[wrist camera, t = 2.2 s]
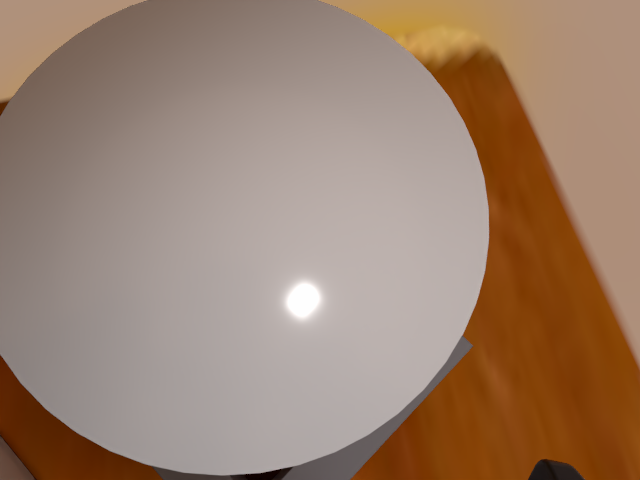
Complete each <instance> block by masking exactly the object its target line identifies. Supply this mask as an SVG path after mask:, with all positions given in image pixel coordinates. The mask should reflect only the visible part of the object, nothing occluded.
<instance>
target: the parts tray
mask: <svg viewBox="0 0 640 480" xmlns="http://www.w3.org/2000/svg"><path fill="white" fill-rule="evenodd" d="M0 480H36V479H35V478H34V477H33V476H32V474H31V473H30V472H29V471H28V469H27V468H26V467H25V466H24V464H23V463H22V462H21V461H20V460H19V458H18V457H17V456H16V455H15V453H14V452H13V451H12V450H11V448H10V447H9V446H8V445H7V443H6V442H5V441H4V440H3V438H2V437H1V436H0Z"/></svg>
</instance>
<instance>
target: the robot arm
mask: <svg viewBox="0 0 640 480" xmlns="http://www.w3.org/2000/svg"><path fill="white" fill-rule="evenodd" d="M528 480H585V479H584V478H583V477H582V476H581V475H580V474H579V472H578V471H577V470H576V469H575V468H574V467H573V466H571V465H569V464H567V463H563V462H558V461H552V460H547V459H542V460H540V461H539V462H538V463H537V464H536V465H535V467H534V469H533V471H532V473H531V475H530V477H529V479H528Z"/></svg>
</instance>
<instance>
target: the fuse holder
mask: <svg viewBox="0 0 640 480" xmlns="http://www.w3.org/2000/svg"><path fill="white" fill-rule="evenodd" d="M472 347H473V346H472V345H471V344H470V343H469V342H468V341H467V340H466V339H465V338H464V337H463V336H461V338H460V340H459V341H458V343H457V345H456V346H455V348H454V350H453V351H452V353H451V355H450V356H449V358H448V360H447V361H446V363H445V364H444V365H443V366H442V368H441V369H440V370H439V371H438V373H437V374H436V375H435V376H434V378H433V379H432V380H431V381H430V383H429V384H428V385H427V386H426V388H425V389H424V390H423V391H422V392H421V393H420V394H419V395H417V396H416V397H415V398H414V399H413V400H412V401H411V402H410V403H409V404H408V405H407V406H406V407H405V408H404V409H403V410H402V411H400V412H399V413H398V414H397V415H396V416H394V417H393V418H391V419H390V420H389V421H387V422H386V423H384V424H383V425H382V426H380V427H379V428H377V429H376V430H374V431H373V432H372V433H370V434H369V435H367V436H365V437H363V438H361V439H359V440H358V441H356V442H354V443H352V444H350V445H348V446H346V447H344V448H342V449H340V450H338V451H336V452H334V453H332V454H329V455H326V456H323V457H320V458H317V459H315V460H312V461H309V462H306V463H303V464H301V465H297V466H292V467H287V468H283V469H282V470H281V471H280V472H279V473H278V474H277V475H276V476H275V477H274V478H273V479H272V480H350V479H351V478H352V477H353V476H354V475H355V473H356V472H357V471H358V470H359V469H360V468H361V467H362V466H363V465H364V464H365V463H366V462H367V460H368V459H369V458H370V457H371V456H372V455H373V454H374V453H375V452H376V451H377V450H378V449H379V447H380V446H381V445H382V444H383V443H384V442H385V441H386V440H387V439H388V438H389V437H390V436H391V434H392V433H393V432H394V431H395V430H396V429H397V428H398V427H399V426H400V425H401V424H402V423H403V421H404V420H405V419H406V418H407V417H408V416H409V415H410V414H411V413H412V412H413V411H414V410H415V408H416V407H417V406H418V405H419V404H420V403H421V402H422V401H423V400H424V399H425V398H426V397H427V395H428V394H429V393H430V392H431V391H432V390H433V389H434V388H435V387H436V386H437V385H438V383H439V382H440V381H441V380H442V379H443V378H444V377H445V376H446V375H447V374H448V373H449V372H450V370H451V369H452V368H453V367H454V366H455V365H456V364H457V363H458V362H459V361H460V360H461V359H462V357H463V356H464V355H465V354H466V353H467V352H468V351H469V350H470V349H471V348H472ZM152 467H153V468H154V469H155V470H156V472H157V473H158V474H159V475H160V476H161V477H162V479H163V480H248V479H247V478H246V477H245V476H244V474H238V475H209V474H195V473H183V472H178V471H174V470H169V469H165V468H160V467H155V466H152Z"/></svg>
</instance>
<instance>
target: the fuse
mask: <svg viewBox="0 0 640 480" xmlns="http://www.w3.org/2000/svg"><path fill="white" fill-rule="evenodd" d="M488 243H489V208H488V201H487V194H486V188H485V181H484V176H483V173H482V169H481V166H480V162H479V159H478V155H477V152H476V149H475V146H474V144H473V142H472V139H471V137H470V135H469V133H468V130H467V128H466V126H465V123H464V121H463V120H462V118H461V116H460V115H459V113H458V111H457V110H456V108H455V106H454V104H453V103H452V101H451V99H450V98H449V96H448V95H447V94H446V92H445V91H444V90H443V89H442V87H441V86H440V85H439V83H438V82H437V81H436V80H435V78H434V77H433V76H432V74H431V73H430V72H429V71H428V70H427V69H426V68H425V67H424V66H423V65H422V64H421V63H420V62H419V61H418V60H417V59H416V58H415V57H414V56H413V55H412V54H411V53H410V52H409V51H407V50H406V49H405V48H404V47H402V46H401V45H400V44H399V43H397V42H396V41H395V40H393V39H392V38H391V37H390V36H388V35H387V34H386V33H384V32H382V31H381V30H379V29H377V28H376V27H374V26H373V25H371V24H369V23H368V22H366V21H365V20H363V19H361V18H359V17H356V16H355V15H353V14H350V13H348V12H346V11H344V10H342V9H340V8H338V7H336V6H332V5H330V4H327V3H324V2H321V1H318V0H147V1H144V2H141V3H138V4H135V5H132V6H130V7H127V8H125V9H123V10H121V11H119V12H116V13H114V14H112V15H110V16H108V17H106V18H103V19H102V20H100V21H98V22H97V23H95V24H93V25H92V26H90V27H89V28H87V29H85V30H83V31H82V32H80V33H78V34H77V35H76V36H74V37H73V38H72V39H70V40H69V41H68V42H66V43H65V44H64V45H63V46H61V47H60V48H59V49H57V50H56V51H55V52H54V53H52V54H51V55H50V56H49V57H48V58H47V59H46V60H45V61H44V62H43V63H42V64H41V65H40V66H39V67H38V68H37V69H36V70H35V71H34V72H33V73H32V74H31V75H30V76H29V77H28V78H27V79H26V81H25V82H24V83H23V85H22V86H21V87H20V88H19V90H18V91H17V92H16V94H15V95H14V96H13V97H12V99H11V100H10V101H9V103H8V104H7V106H6V108H5V109H4V111H3V113H2V114H1V116H0V355H1V356H2V357H3V359H4V360H5V362H6V363H7V364H8V366H9V367H10V369H11V370H12V371H13V373H14V374H15V376H16V377H17V379H18V380H19V381H20V383H21V384H22V385H23V386H24V387H25V388H26V389H27V390H28V391H29V392H30V393H31V394H32V395H33V396H34V397H35V398H36V399H37V400H38V401H39V403H40V404H41V405H42V406H43V407H44V408H45V409H46V410H47V411H49V412H50V413H51V414H53V415H54V416H55V417H57V418H58V419H59V420H61V421H62V422H63V423H65V424H66V425H67V426H68V427H70V428H71V429H72V430H74V431H75V432H76V433H78V434H80V435H82V436H84V437H85V438H87V439H89V440H91V441H93V442H94V443H96V444H98V445H100V446H102V447H104V448H105V449H107V450H109V451H111V452H114V453H117V454H119V455H122V456H125V457H127V458H130V459H133V460H135V461H138V462H141V463H143V464H146V465H151V466H155V467H160V468H165V469H169V470H174V471H178V472H183V473H195V474H209V475H238V474H253V473H263V472H268V471H273V470H278V469H283V468H287V467H292V466H297V465H301V464H303V463H306V462H309V461H312V460H315V459H317V458H320V457H323V456H326V455H329V454H332V453H334V452H336V451H338V450H340V449H342V448H344V447H346V446H348V445H350V444H352V443H354V442H356V441H358V440H359V439H361V438H363V437H365V436H367V435H369V434H370V433H372V432H373V431H374V430H376V429H377V428H379V427H380V426H382V425H383V424H384V423H386V422H387V421H389V420H390V419H391V418H393V417H394V416H396V415H397V414H398V413H399V412H400V411H402V410H403V409H404V408H405V407H406V406H407V405H408V404H409V403H410V402H411V401H412V400H413V399H414V398H415V397H416V396H417V395H419V394H420V393H421V392H422V391H423V390H424V389H425V388H426V386H427V385H428V384H429V383H430V381H431V380H432V379H433V378H434V376H435V375H436V374H437V373H438V371H439V370H440V369H441V368H442V366H443V365H444V364H445V363H446V361H447V360H448V358H449V356H450V355H451V353H452V351H453V350H454V348H455V346H456V345H457V343H458V341H459V340H460V338H461V336H462V335H463V333H464V331H465V328H466V326H467V324H468V321H469V319H470V317H471V314H472V312H473V309H474V307H475V305H476V302H477V299H478V295H479V291H480V288H481V284H482V280H483V276H484V273H485V267H486V259H487V251H488Z"/></svg>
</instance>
